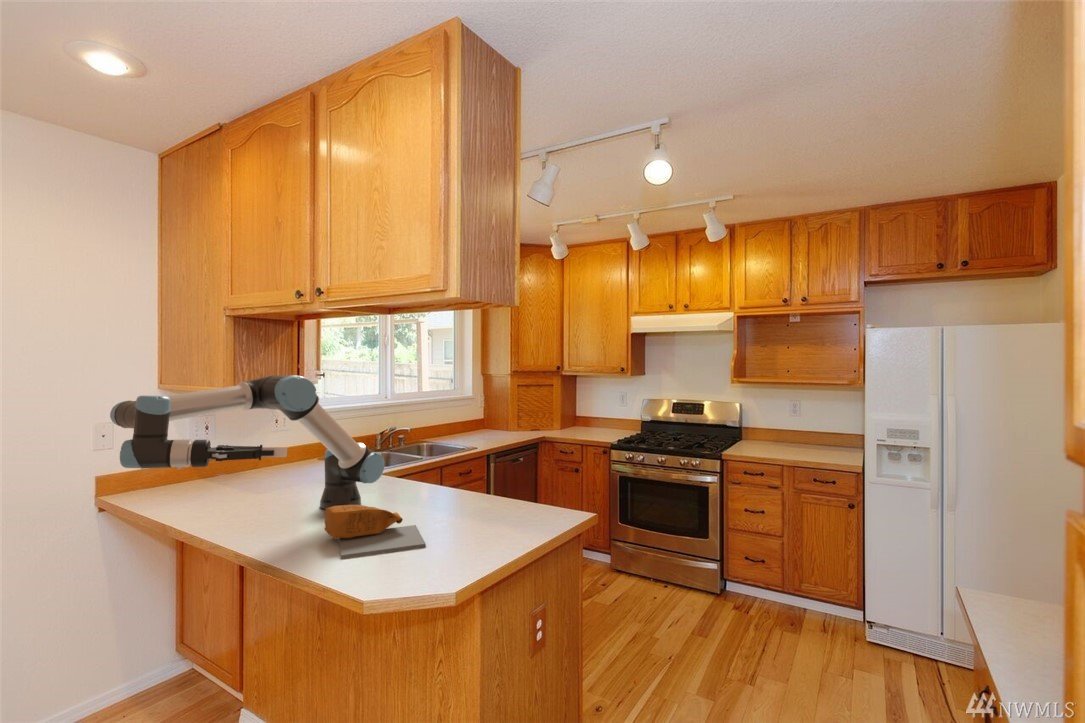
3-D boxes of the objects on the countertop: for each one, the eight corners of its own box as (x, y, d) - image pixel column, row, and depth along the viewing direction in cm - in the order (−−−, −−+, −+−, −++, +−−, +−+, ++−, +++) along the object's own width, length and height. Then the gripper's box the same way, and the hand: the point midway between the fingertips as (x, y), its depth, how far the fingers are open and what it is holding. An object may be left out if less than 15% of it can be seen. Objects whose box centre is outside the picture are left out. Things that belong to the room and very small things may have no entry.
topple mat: (339, 537, 166) (339, 534, 166) (415, 527, 175) (415, 525, 175) (340, 558, 147) (340, 555, 147) (425, 546, 156) (425, 543, 156)
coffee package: (323, 536, 165) (392, 529, 177) (331, 542, 155) (403, 533, 167) (324, 505, 167) (392, 499, 179) (332, 508, 157) (403, 501, 168)
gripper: (195, 462, 149) (286, 460, 159) (186, 471, 137) (285, 468, 147) (197, 436, 149) (288, 436, 159) (188, 443, 137) (287, 442, 147)
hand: (286, 452), depth 153 cm, fingers closed
